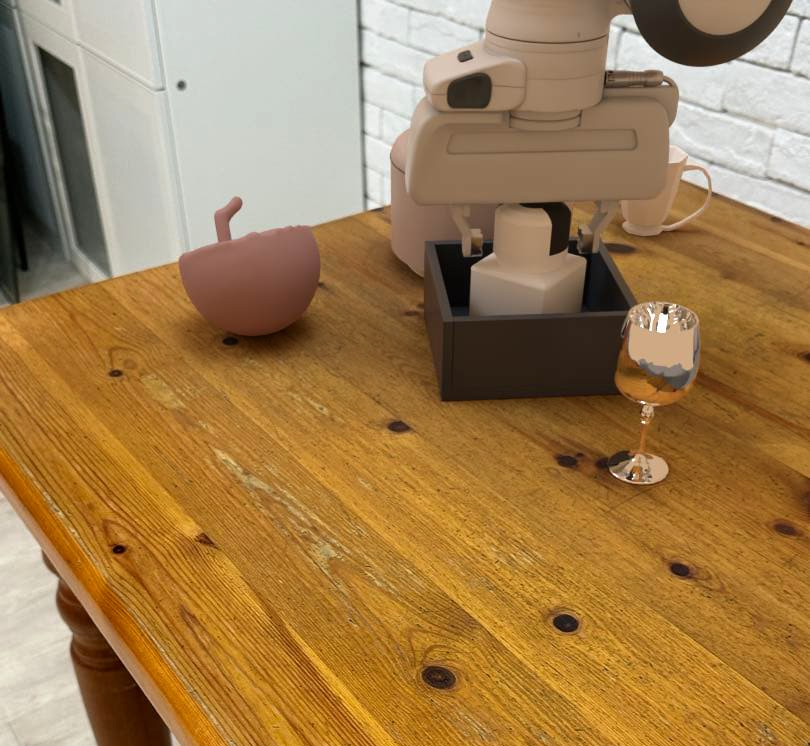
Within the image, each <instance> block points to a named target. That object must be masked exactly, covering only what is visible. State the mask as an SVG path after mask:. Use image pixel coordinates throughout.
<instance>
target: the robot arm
mask: <svg viewBox="0 0 810 746" xmlns="http://www.w3.org/2000/svg"><path fill="white" fill-rule="evenodd" d="M793 1H794V0H491V3H490V5H489V9H488V11H487V16H486V20H485V32H484V33H485V35H484V38H482V39H480V40H478V41H475V42H472V43H470V44H467V45H465V46H462V47H459V48H455V49H453V50H450V51H447V52H444V53H441V54H438V55H436V56H433V57H430V58H429V59H428V60H426V62H425V63H424V66H423V69H422V85H423V86H422V87H423V92H424V94H425V95H424V96H423V97H422V98H421V99H420V100H419V101H418V103H417V104H416V106H415V108H414V110H413V113H412V115H411V120H410V126H409V128H410V130H409V136H408V144H407V153H406V167H405V182H406V189H407V192H408V195H409V196H410V197H411V198H412V200H413V201H414V202H415V203H416V204H417V205H420V206H429V205H450V211H451V215H452V218H453V220H454V221H455V223H456V225H457V227H458V228H459V230H460V232H461V234H462V252H463V256H464V257H477V256H482V251H483V250H482V246H483V235H482V234H481V230H480V229H470V227H469V225H468V223H467V221H466V219H465V218H464V217H469V216H470V205H471V204H503V203H541V202H574V203H575V202H594V204H595V206H596V208H597V210H596V211H595V213H594V215H593V216H592V218H591V219H590V221H589V222H588V224H587V225H578V226H577V231H576V234H577V237H578V238H577V241H576V247H577V250H579V254H583V253H598V249H599V241H600V238H601V235H602V234H603V233H604V231H605V230H606V229H607V227H608V226H609V225H610V223H611V222H612V221H613V220H614V218H615V217H616V215H617V214H618V209H619V202H620V200H651V199H655V198H656V197H657V196H658V195H659V194H660V193H661V192H662V191H663V190H664V188H665V187H666V184H667V178H668V168H669V145H670V128H671V127H672V125H673V124H674V122H675V119H676V117H677V112H678V107H679V100H680V91H679V90H680V89H679V86H678V84H677V83H676V81H675V80H674V79H673V78H671V77H669V76H667V75H664V71H662V70H659V69H645V70H644V71H639V70H638V71H634V70H627V69H620V70H619V69H614V70H613V69H607V70H606V67H607V59H608V49H609V40H610V32H611V31H610V30H611V24H612V21H613V20H614V19H615V18H616V17H618V16H621V15H623V16H625V15H627V16H628V15H629V16H633V17H632V18H633V20H634V23H635V25H636V28H637V31H638V32H639V34H640V35H641V38H642V39H644V41H645V42H646V43H647V45H648V46H649V47H650V48H651V49H652V50H653V51H654V52H655V53H657V54H658V55H659V56H661V57H662V58H664V59H666V60H667V61H670V62H672V63H675V64H678V65H681V66H686V67H693V68H706V67H707V68H708V67H714V66H719V65H724V64H727V63H729V62H732V61H734V60H736V59H739V58H741V57H743V56H745V55H747V54H748V53H750V52H751V51H753V50H754V49H755V48H756V47H758V46H759V45H761V44H762V43H763V42H764V41H765V40H766V39H768V37H769V36H771V34H772V33H773V32H774V31H775V30H776V29H777V27H778V26H779V25H780V23H781V22H782V21H783V19H784V18H785V16H786V14H787V13H788V11H789V9H790V7H791V6H792V4H793ZM663 83H666V84H663Z"/></svg>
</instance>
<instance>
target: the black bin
mask: <svg viewBox="0 0 810 746" xmlns="http://www.w3.org/2000/svg"><path fill="white" fill-rule="evenodd" d="M578 237H579V236H570V237H569V243H568V253H569V254H573V255H577V256H581V257H584V258H585V259H586V262H587V263H586V271H585V280H584V288H583V297H582V305H581V313H550V314H520V315H490V316H469V297H470V275H471V267H472V266H473V265H474V264H476V263H477V262H479V261H481V260H482V259H484V258H485V257H487V256H488V255H490V254H492V253H493V243H494V239H483V246H482V250H483V251H482V256H477V257H464V256H463V252H462V240H439V241H425V249H424V277H423V318H424V322H425V328H426V332H427V338H428V342H429V347H430V352H431V357H432V361H433V366H434V367H433V368H434V373H435V376H436V381H437V386H438V391H439V396H440V400H441V401H442V402H446V401H447V402H449V401H471V400H473V401H475V400H476V401H477V400H498V399H499V400H501V399H523V398H524V399H526V398H549V397H550V398H551V397H578V396H579V397H581V396H605V395H623V394H622V393H621V392H620V391H619V389H618V388H617V386H616V384H615V382H614V379H613V373H612V359H613V353H614V349H615V345H616V341H617V338H618V335H619V332H620V330H621V327H622V325H623V322H624V320H625V318H626V316H627V313H628V311H629V310H630V309H631V308H632V307H633V306H635V305H638V304H639V303H638V301H637V299H636V297H635V296H634V294H633V292H632V290H631V288H630V287H629V285H628V283H627V281H626V279H625V278H624V276H623V274H622V273H621V271H620V270H619V269H620V268H618V266H617V264H616V263H615V262H616V261H614V259H613V257H612V255H611V254H610V252H609V250H608V249H607V246H606V244H605V243H604V241H603V240H602V238H601V237H600V241H599V249H598V253H583V254H579V250H577V247H576V241H577V238H578Z"/></svg>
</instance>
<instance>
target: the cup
mask: <svg viewBox="0 0 810 746" xmlns="http://www.w3.org/2000/svg"><path fill="white" fill-rule="evenodd" d="M689 156H690V155H689V154H688V153H687V152H686V151H684V150H683V149H682V148H680V147H679V146H678V145H673V144H669V168H668V178H667V184H666V187H665V188H664V190H663V191H662V192H661V193H660V194H659V195H658V196H657V197H656V198H655V199H651V200H619V202H620V207H621V214H622V215H621V216H622V218H623V219H625V221H624V222H622V224H621V228H622V229H623V230H624V231H625V232H626V233H627V234H630V235H635V236H640V237H651V236H659V235H660V234H661V233H662V232H671V231H674V230H676V229H679V228H681V227H683V226H684V225H687V224H689V223H690V222H692V221H694V220H695V219H697V218H699V217H700V216H701V215H702V214H703V213H704V212H705V211H706V210H707V209H708V207H709V205H710V202H711V200H712V195H713V186H712V185H713V184H712V178H711V174H710V173H709V171H708V170H707V168H706V166H704V165H702V164H700V163H696V162H687V161H688V158H689ZM696 170H699V171H701V172H702V174H703V175H704V176H705V178H706V180H707V185H708V186H707V187H708V188H707V189H708V191H707V197H706V200H705V201H704V204H703V205H702V206H701V207H700V208H698V209H697V210H696V211H695V212H693V213H692V214H690V215H689V216H687V217H685V218H684V219H681V220H680V221H677V222H675V223H672V224H668V225H667V224H666V225H665V224H663V223H664V222H665V221H666V220H667V218H668V216H669V213H670V212H671V209H672V207H673V204H674V202H675V200H676V197H677V193H678V190H679V187H680V183H681V180H682V177H683V174H684V172H689V171H696Z"/></svg>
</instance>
